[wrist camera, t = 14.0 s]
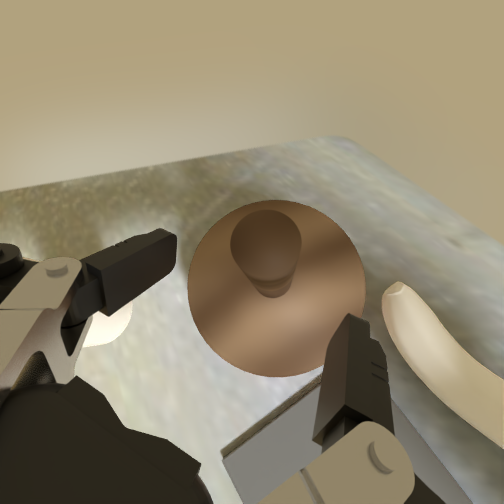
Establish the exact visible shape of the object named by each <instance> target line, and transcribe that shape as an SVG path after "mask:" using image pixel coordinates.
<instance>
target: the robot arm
mask: <svg viewBox="0 0 504 504" xmlns="http://www.w3.org/2000/svg"><path fill="white" fill-rule="evenodd" d="M176 249H177V237H176V235H175V234H173V233H171V232H168V231H166V230H164V229H161V228H159V229H156V230H154V231H152V232H150V233H148V234H142V235H137V236H133V237H131V238H129V239H126V240H124V242H120V243H117V244H115V246H111V247H108V248H106V249H104V250H102V251H99V252H97V253H95V254H93V255H90V256H88V257H86V258H84V259H81V260H79V261H78V260H77V259H74V258H70V257H56V258H51V259H47V260H44V261H41V262H36V261H31V260H26V259H23V257H22V255H21V252H20V249H19V248H18V247H17V246H15V245H12V244H6V243H0V504H213V501H212V498H211V496H210V494H209V492H208V490H207V488H206V486H205V484H204V483H203V481H202V480H201V478H200V477H199V475H198V473H199V470H200V467H201V463H199V462H198V461H197V460H195V459H194V458H192V457H191V456H190V455H188V454H187V453H185V452H184V451H182V450H181V449H180V448H178V447H177V446H175V445H174V444H173V443H171V442H170V441H168V440H167V439H164V438H160V437H156V436H153V435H149V434H146V433H142V432H139V431H135V430H132V429H128V428H126V427H125V426H124V425H123V424H122V422H121V421H120V419H119V418H118V416H117V415H116V413H115V412H114V410H113V408H112V407H111V405H110V404H109V402H108V401H107V399H106V397H105V396H104V395H103V394H102V393H101V392H99V391H98V390H96V389H95V388H94V387H92V386H91V385H89V384H88V383H87V382H85V381H84V380H82V379H81V378H79V377H78V376H75V377H74V369H75V364H76V361H77V358H78V356H79V353H80V351H81V348H82V346H83V343H84V341H85V338H86V336H87V333H88V331H89V328H90V326H91V323H92V321H93V314H95V313H96V312H98V311H99V312H101V313H102V314H104V315H106V316H108V317H110V316H111V315H112V314H114V313H115V312H116V311H118V310H119V309H121V308H122V307H123V306H125V305H126V304H128V303H129V302H130V301H132V300H133V299H135V298H136V297H137V296H139V295H140V294H141V293H143V292H144V291H146V290H147V289H148V288H150V287H151V286H153V285H154V284H155V283H157V282H158V281H160V280H161V279H162V278H164V277H165V276H166V275H168V274H169V273H170V272H171V271H172V270H173V268H174V266H175V263H176ZM388 382H389V379H388V372H387V361H386V355H385V353H384V351H383V349H382V347H381V345H380V343H379V342H378V341H376V340H374V339H372V338H370V325H369V322H368V321H366V320H363V319H361V318H359V317H357V316H354V315H352V314H350V313H348V314H347V315H346V316H345V317H344V319H343V320H342V322H341V324H340V325H339V327H338V328H337V330H336V331H335V333H334V335H333V336H332V338H331V340H330V342H329V344H328V347H327V350H326V356H325V362H324V368H323V374H322V380H321V386H320V393H319V399H318V405H317V411H316V417H315V424H314V430H313V436H312V441H314V442H315V443H317V444H319V445H320V446H322V451H321V455H320V456H319V457H317V458H316V459H315V460H314V461H312V462H311V463H310V464H309V465H307V466H306V467H305V468H303V469H301V470H299V471H298V472H296V473H295V474H294V475H293V476H291V477H290V478H289V479H287V480H286V481H285V482H284V483H282V484H281V485H280V486H279V487H277V488H276V489H275V490H273V491H272V492H271V493H270V494H268V495H267V496H266V497H265V498H263V499H262V500H261V501H260V502H258V503H257V504H446V503H445V502H444V501H443V500H442V499H441V498H440V497H439V496H438V495H437V494H435V493H434V492H433V491H432V490H431V489H430V488H429V487H428V486H427V485H426V484H425V483H424V482H423V481H422V480H421V479H420V478H419V477H418V476H417V475H416V474H415V473H414V470H413V467H412V464H411V461H410V458H409V456H408V454H407V452H406V451H405V449H404V447H403V446H402V445H401V443H400V442H399V440H398V439H397V438H396V437H395V432H394V423H393V414H392V406H391V397H390V388H389V384H388Z"/></svg>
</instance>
